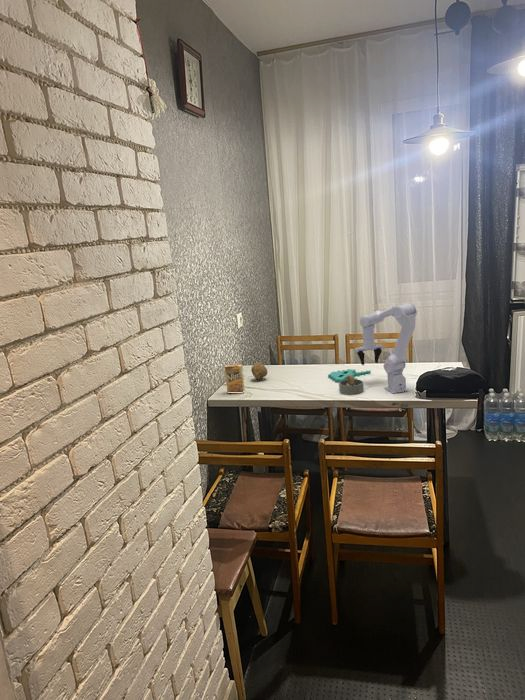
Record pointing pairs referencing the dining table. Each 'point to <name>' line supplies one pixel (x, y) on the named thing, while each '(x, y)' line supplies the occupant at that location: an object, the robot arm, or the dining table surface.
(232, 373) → the candy box
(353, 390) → the grey round bowl
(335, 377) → the alien figure
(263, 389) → the dining table surface
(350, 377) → the wood wick
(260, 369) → the natural sponge
